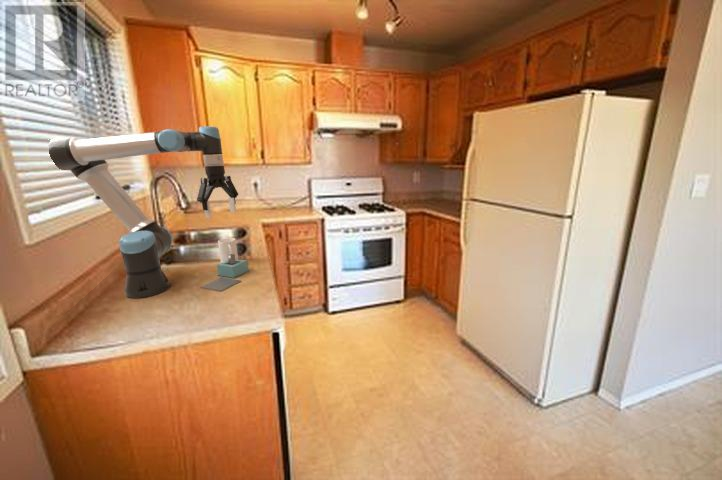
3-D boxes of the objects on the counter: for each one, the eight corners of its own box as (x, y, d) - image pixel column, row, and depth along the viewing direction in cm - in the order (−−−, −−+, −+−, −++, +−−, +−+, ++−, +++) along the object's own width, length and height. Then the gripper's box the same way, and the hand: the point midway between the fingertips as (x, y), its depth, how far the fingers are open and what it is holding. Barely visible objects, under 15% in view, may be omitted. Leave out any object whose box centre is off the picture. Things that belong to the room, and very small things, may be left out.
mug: (241, 265, 156) (238, 242, 153) (222, 269, 152) (218, 244, 149) (237, 259, 166) (234, 236, 163) (219, 262, 162) (216, 239, 159)
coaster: (200, 288, 130) (200, 286, 130) (221, 279, 140) (221, 277, 140) (221, 292, 126) (220, 290, 126) (241, 282, 136) (241, 280, 136)
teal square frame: (218, 275, 143) (216, 264, 142) (233, 268, 151) (232, 258, 150) (233, 277, 140) (232, 267, 139) (248, 270, 148) (247, 260, 147)
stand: (216, 276, 143) (213, 257, 141) (233, 269, 152) (231, 250, 150) (234, 279, 139) (231, 259, 137) (250, 271, 148) (247, 252, 146)
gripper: (194, 166, 124) (203, 220, 129) (242, 164, 145) (248, 210, 151) (181, 166, 127) (190, 219, 132) (230, 164, 149) (236, 209, 154)
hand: (221, 214), depth 142 cm, fingers open, 13 cm apart
